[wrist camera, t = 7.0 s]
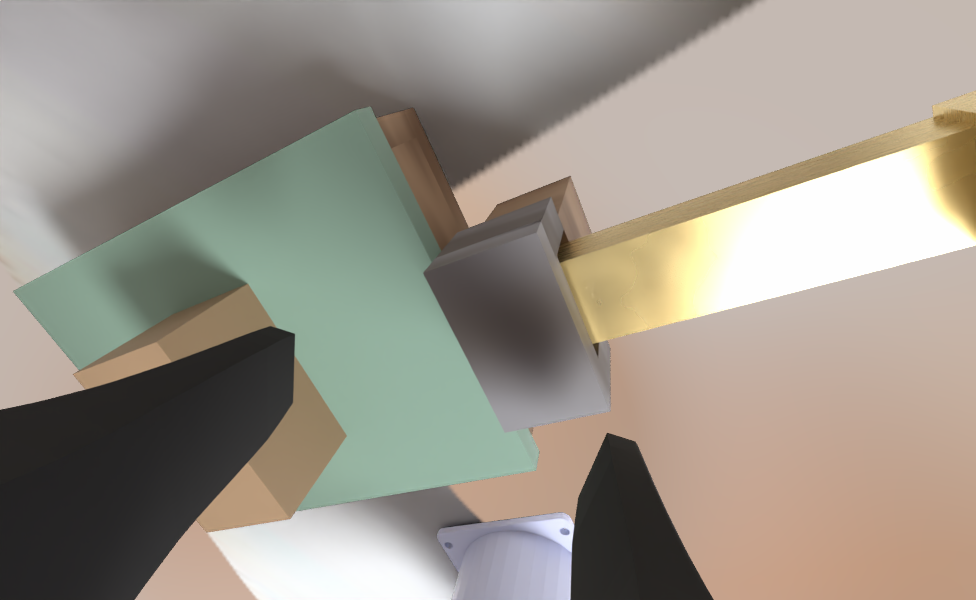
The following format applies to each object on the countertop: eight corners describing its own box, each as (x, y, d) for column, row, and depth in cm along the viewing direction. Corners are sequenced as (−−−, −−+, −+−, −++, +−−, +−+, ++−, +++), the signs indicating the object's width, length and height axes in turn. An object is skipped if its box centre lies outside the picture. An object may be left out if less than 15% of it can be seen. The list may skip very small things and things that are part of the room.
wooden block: (1115, 183, 11) (1364, 248, 7) (550, 337, 15) (533, 421, 12) (1118, 40, 10) (1408, 33, 6) (513, 251, 14) (482, 315, 11)
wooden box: (639, 362, 21) (655, 520, 14) (270, 449, 29) (159, 579, 22) (524, 51, 17) (461, 50, 10) (126, 252, 24) (-69, 333, 17)
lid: (540, 444, 19) (518, 569, 15) (228, 503, 26) (142, 604, 21) (376, 105, 15) (269, 129, 10) (47, 277, 21) (-113, 341, 17)
